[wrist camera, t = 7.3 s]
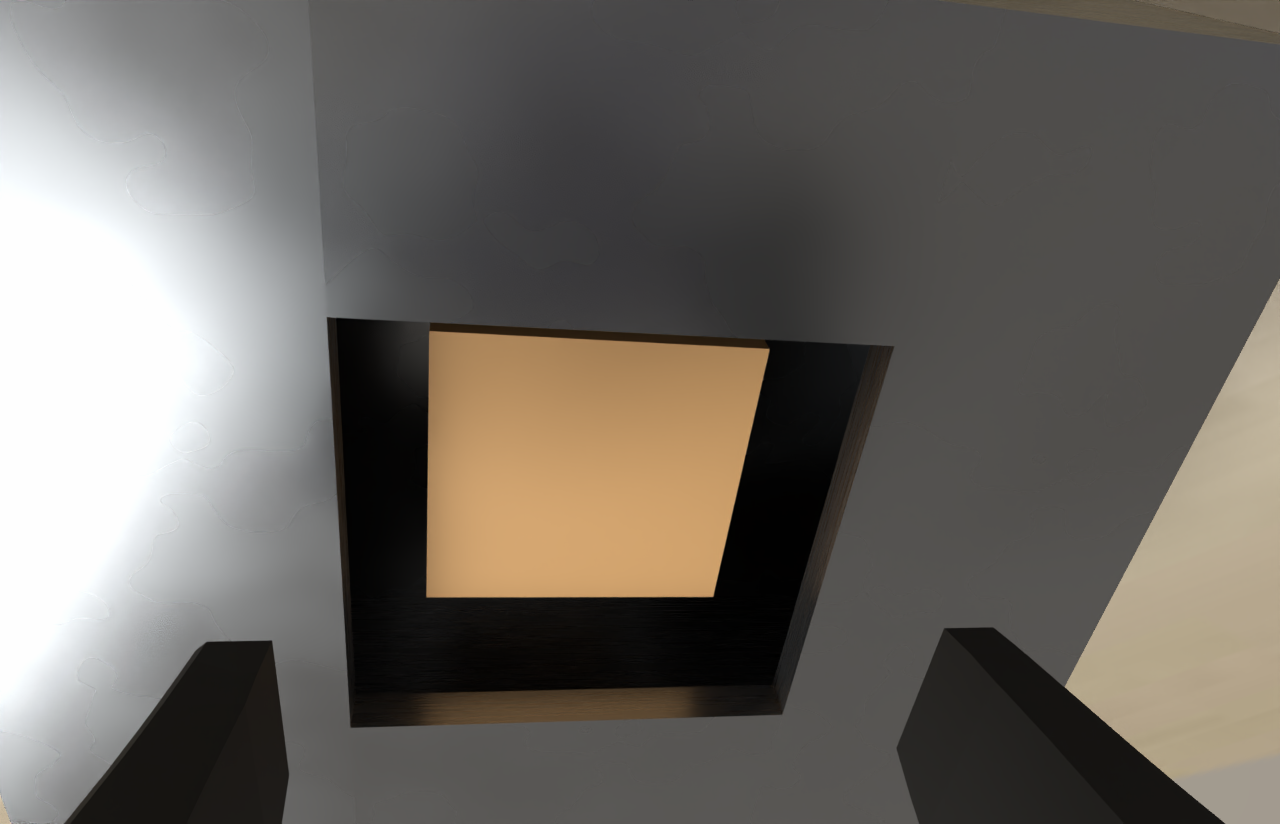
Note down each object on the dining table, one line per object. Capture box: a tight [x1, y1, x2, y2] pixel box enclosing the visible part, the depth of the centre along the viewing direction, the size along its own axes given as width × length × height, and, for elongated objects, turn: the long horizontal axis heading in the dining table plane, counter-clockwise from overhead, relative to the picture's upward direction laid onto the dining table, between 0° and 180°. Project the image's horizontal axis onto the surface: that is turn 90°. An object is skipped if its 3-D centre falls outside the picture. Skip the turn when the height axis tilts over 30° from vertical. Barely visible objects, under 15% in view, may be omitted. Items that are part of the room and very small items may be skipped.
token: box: [426, 322, 770, 597], centre depth 15 cm, size 4×4×4 cm
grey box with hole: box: [0, 0, 1280, 824], centre depth 14 cm, size 16×14×6 cm
